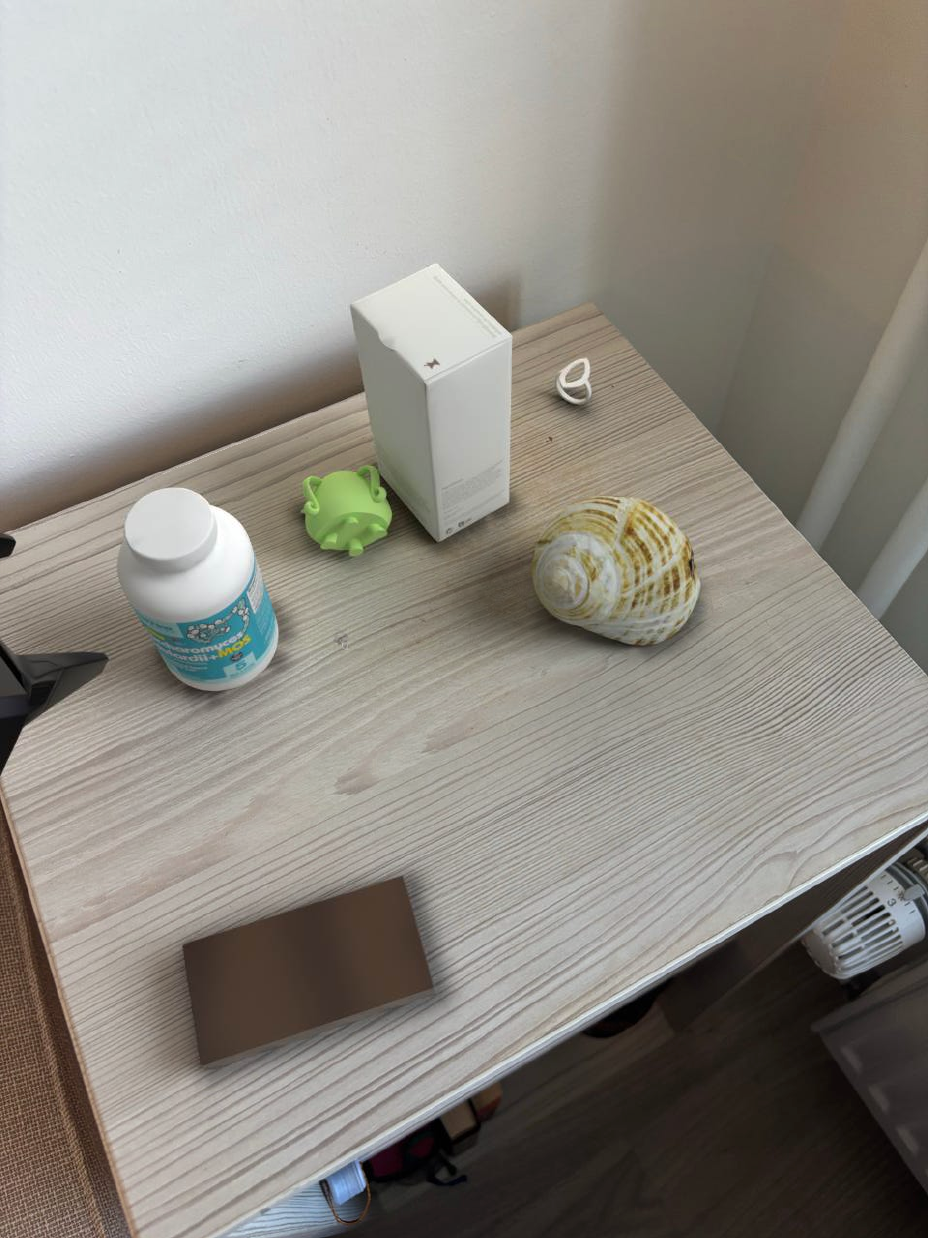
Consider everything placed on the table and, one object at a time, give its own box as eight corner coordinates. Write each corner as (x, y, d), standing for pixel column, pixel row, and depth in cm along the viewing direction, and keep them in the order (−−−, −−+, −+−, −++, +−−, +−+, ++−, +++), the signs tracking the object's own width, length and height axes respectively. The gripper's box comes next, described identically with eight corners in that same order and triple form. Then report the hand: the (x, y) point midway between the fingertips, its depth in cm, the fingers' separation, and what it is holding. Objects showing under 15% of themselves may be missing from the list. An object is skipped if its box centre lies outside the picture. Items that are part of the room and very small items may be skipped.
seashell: (732, 589, 61) (720, 553, 52) (623, 687, 62) (592, 669, 53) (630, 487, 65) (602, 436, 55) (529, 581, 66) (484, 547, 57)
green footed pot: (386, 495, 66) (380, 441, 61) (403, 555, 63) (397, 505, 58) (301, 512, 65) (287, 460, 60) (314, 575, 62) (301, 525, 57)
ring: (548, 390, 71) (553, 361, 68) (581, 384, 71) (587, 356, 68) (557, 415, 70) (562, 387, 67) (590, 409, 70) (597, 382, 67)
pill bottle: (158, 697, 58) (81, 583, 46) (174, 596, 62) (106, 467, 50) (277, 694, 58) (231, 579, 46) (286, 594, 62) (244, 464, 50)
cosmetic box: (510, 505, 65) (522, 338, 52) (432, 549, 63) (424, 387, 50) (445, 431, 69) (440, 255, 55) (369, 470, 67) (345, 299, 53)
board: (212, 1070, 47) (200, 1066, 45) (193, 953, 50) (181, 944, 48) (436, 994, 49) (434, 987, 47) (405, 886, 52) (403, 874, 50)
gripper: (-169, 618, 27) (231, 597, 40) (-379, 288, 34) (21, 363, 47) (-256, 870, 31) (131, 776, 44) (-427, 532, 38) (-48, 537, 51)
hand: (56, 602), depth 46 cm, fingers open, 9 cm apart
